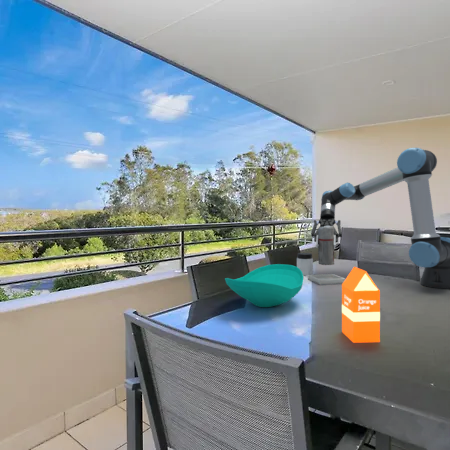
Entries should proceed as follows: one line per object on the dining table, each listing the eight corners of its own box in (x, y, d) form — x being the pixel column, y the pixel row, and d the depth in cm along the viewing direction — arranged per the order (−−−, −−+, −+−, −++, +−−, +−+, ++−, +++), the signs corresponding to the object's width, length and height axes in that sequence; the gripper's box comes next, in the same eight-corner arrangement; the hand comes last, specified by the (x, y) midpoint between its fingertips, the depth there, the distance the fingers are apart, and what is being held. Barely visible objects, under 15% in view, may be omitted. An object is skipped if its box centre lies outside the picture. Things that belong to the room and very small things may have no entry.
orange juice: (366, 331, 106) (366, 266, 105) (380, 342, 97) (380, 271, 96) (341, 331, 106) (341, 266, 105) (352, 342, 97) (352, 271, 96)
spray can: (331, 266, 173) (331, 226, 172) (315, 264, 178) (315, 225, 177) (337, 264, 180) (337, 225, 179) (321, 262, 185) (322, 224, 184)
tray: (346, 283, 173) (346, 278, 173) (319, 285, 171) (319, 280, 171) (332, 278, 187) (332, 273, 187) (308, 279, 185) (308, 275, 185)
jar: (306, 276, 193) (306, 255, 193) (294, 274, 199) (294, 253, 198) (315, 274, 199) (315, 253, 199) (303, 272, 205) (303, 252, 205)
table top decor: (257, 290, 161) (257, 262, 161) (316, 298, 146) (316, 266, 146) (207, 312, 128) (206, 276, 128) (276, 325, 113) (276, 284, 112)
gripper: (347, 218, 189) (347, 251, 174) (308, 218, 196) (305, 250, 181) (347, 208, 183) (347, 242, 169) (307, 209, 190) (304, 241, 176)
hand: (325, 246), depth 175 cm, fingers closed on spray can, 8 cm apart
